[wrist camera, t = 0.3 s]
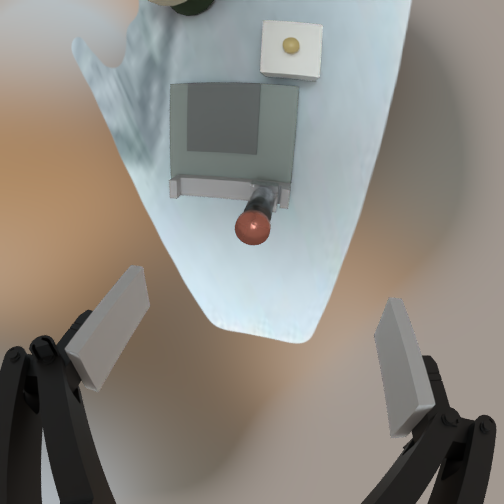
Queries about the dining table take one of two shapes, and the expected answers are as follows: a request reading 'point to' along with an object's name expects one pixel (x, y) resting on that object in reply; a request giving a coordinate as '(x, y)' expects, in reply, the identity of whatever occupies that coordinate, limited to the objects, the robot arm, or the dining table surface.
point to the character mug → (185, 5)
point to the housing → (291, 50)
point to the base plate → (231, 138)
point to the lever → (258, 213)
